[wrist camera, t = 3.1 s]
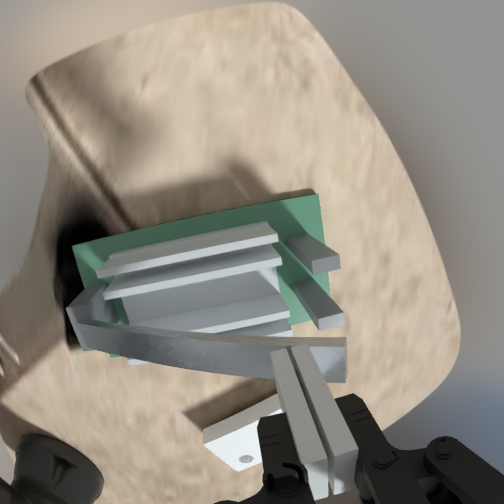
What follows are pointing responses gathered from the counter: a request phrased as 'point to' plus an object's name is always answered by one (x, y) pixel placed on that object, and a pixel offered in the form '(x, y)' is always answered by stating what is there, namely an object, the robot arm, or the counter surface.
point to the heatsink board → (213, 273)
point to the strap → (212, 349)
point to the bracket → (240, 435)
